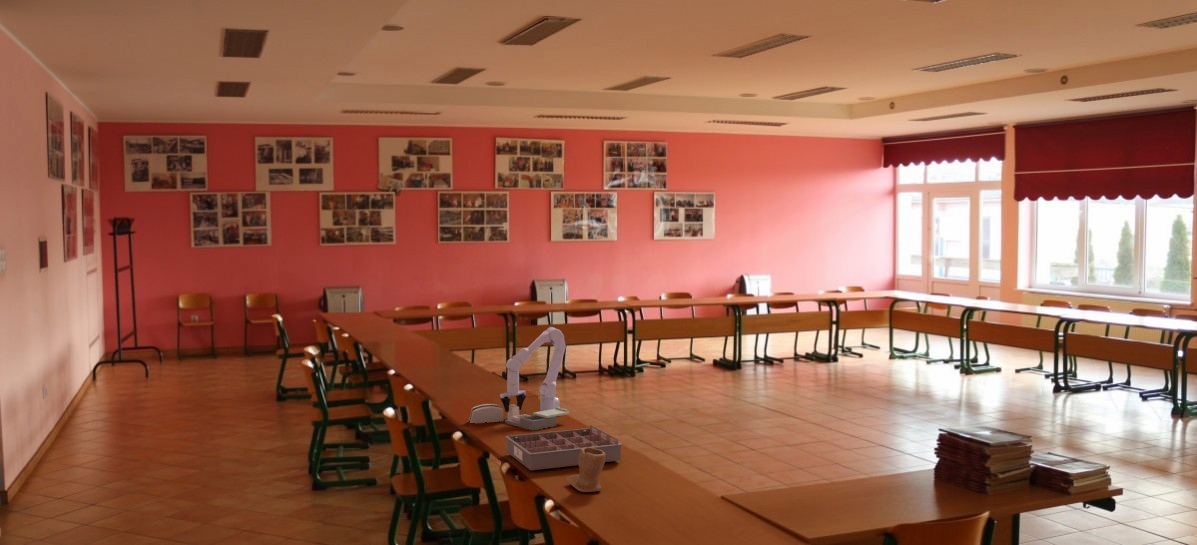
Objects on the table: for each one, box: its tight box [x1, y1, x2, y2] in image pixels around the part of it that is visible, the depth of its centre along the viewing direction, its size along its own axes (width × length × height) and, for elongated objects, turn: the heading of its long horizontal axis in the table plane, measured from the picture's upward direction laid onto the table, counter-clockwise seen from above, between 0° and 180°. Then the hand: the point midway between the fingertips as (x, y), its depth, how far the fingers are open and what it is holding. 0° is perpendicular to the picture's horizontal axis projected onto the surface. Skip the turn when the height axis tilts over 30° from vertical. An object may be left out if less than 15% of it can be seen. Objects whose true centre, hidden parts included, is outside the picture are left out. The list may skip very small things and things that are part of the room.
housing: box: [504, 413, 557, 432], centre depth 449 cm, size 14×22×4 cm, turn 42°
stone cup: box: [566, 447, 606, 493], centre depth 345 cm, size 15×12×15 cm
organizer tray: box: [504, 423, 623, 471], centre depth 387 cm, size 32×40×10 cm
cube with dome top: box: [507, 403, 520, 419], centre depth 463 cm, size 4×4×7 cm
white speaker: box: [468, 403, 505, 424], centre depth 455 cm, size 17×5×10 cm, turn 110°
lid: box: [532, 407, 570, 419], centre depth 450 cm, size 14×10×2 cm
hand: (513, 410), depth 462 cm, fingers open, 7 cm apart
